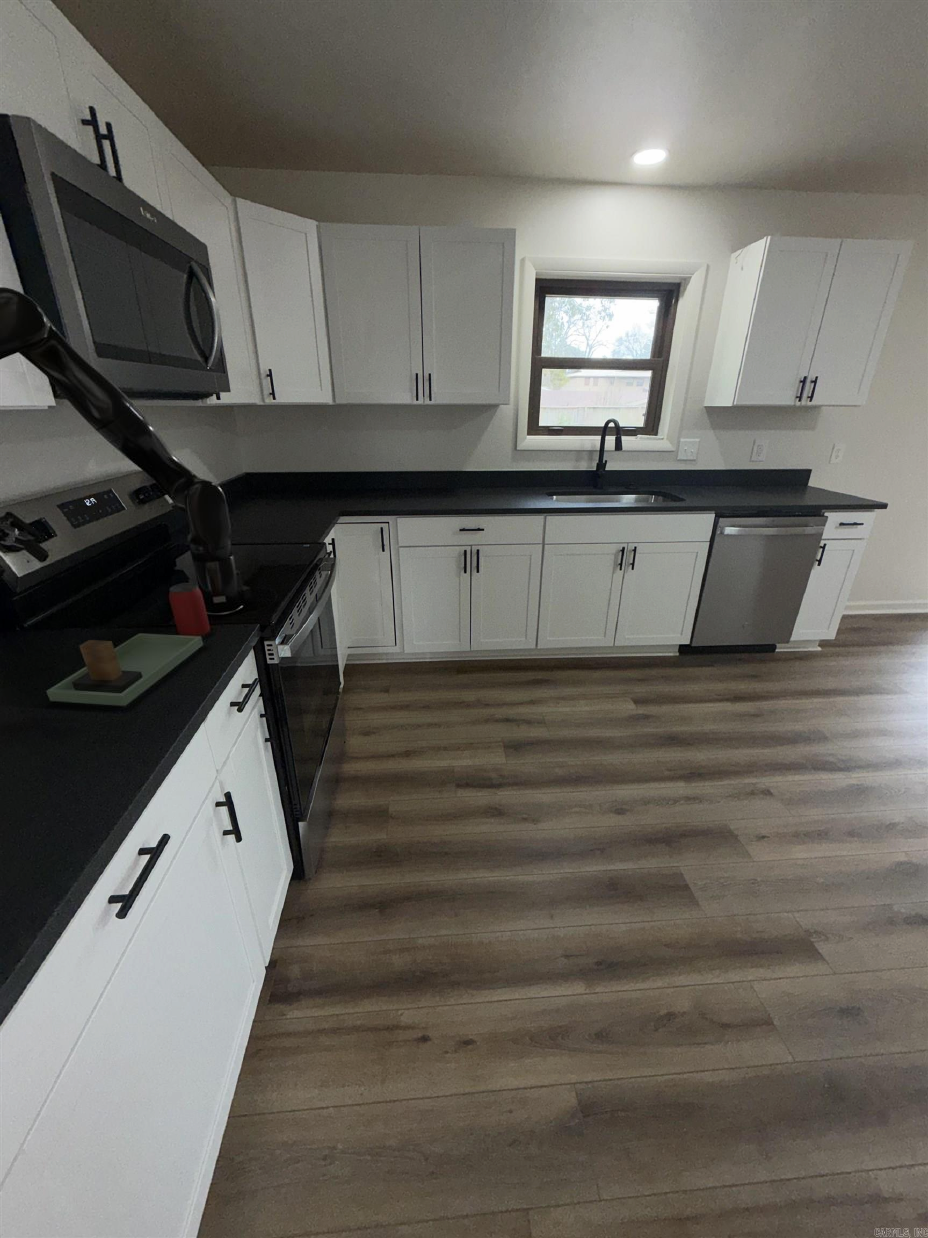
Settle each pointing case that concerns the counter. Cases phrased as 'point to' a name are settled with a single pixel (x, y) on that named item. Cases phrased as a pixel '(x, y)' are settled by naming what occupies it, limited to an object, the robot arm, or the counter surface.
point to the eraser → (103, 670)
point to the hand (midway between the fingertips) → (24, 566)
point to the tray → (133, 667)
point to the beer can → (189, 610)
